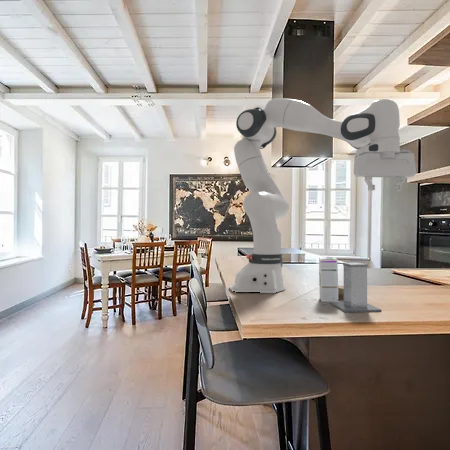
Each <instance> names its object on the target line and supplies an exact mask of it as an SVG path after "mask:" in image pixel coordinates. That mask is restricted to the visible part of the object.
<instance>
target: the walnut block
mask: <svg viewBox="0 0 450 450" xmlns="http://www.w3.org/2000/svg"><path fill="white" fill-rule="evenodd" d="M338 300H340V301H344V285H338Z"/></svg>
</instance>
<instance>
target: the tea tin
mask: <svg viewBox="0 0 450 450" xmlns="http://www.w3.org/2000/svg"><path fill="white" fill-rule="evenodd" d="M342 265H343V286H344V300H343V301H344V305H346V306H348V307H350V308H367V303H368V264H367V263H362V262H342Z"/></svg>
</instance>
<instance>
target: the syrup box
mask: <svg viewBox="0 0 450 450" xmlns="http://www.w3.org/2000/svg"><path fill="white" fill-rule="evenodd" d="M318 273H319V274H318V275H319V276H318V277H319V280H318V282H319V283H318V284H319V300H320V302H321V303H322V302H323V303H330V302H339V299H338V286H339V270H338V258H337V257H332V256H331V257H330V256H325V257H324V256H323V257H318Z"/></svg>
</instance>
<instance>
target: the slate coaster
mask: <svg viewBox="0 0 450 450" xmlns="http://www.w3.org/2000/svg"><path fill="white" fill-rule="evenodd" d="M329 304H330V305H331V306H333V307H335V308H336V309H339V310H340V311H342V312H343V313H346V314H347V313H350V314H351V313H374V312H375V313H377V312H378V313H379V312H382V309H381V308H379V307H377V306H374V305H372V304H370V303H368V302H367V308H350V307H348V306H346V305H344V300H340V301H338V302H329Z"/></svg>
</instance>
